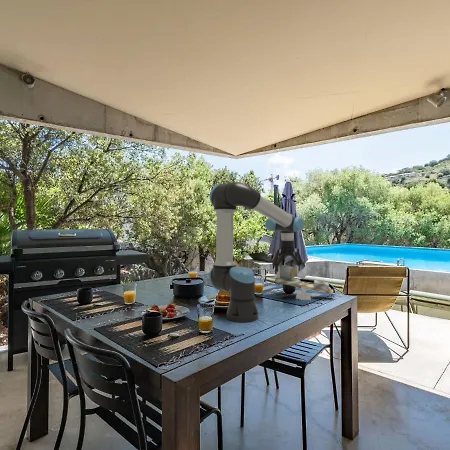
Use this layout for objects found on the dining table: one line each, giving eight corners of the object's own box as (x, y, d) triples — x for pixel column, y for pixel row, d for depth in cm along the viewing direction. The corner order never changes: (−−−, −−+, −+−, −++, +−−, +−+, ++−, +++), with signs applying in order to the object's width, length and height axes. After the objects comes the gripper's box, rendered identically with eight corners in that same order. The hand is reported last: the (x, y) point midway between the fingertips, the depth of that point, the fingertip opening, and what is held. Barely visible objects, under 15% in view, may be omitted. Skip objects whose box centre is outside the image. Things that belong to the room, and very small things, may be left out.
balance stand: (296, 299, 190) (295, 286, 190) (297, 294, 201) (297, 282, 201) (310, 300, 188) (310, 287, 187) (310, 295, 199) (310, 283, 199)
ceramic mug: (291, 280, 191) (291, 267, 190) (278, 278, 195) (278, 265, 195) (298, 277, 199) (298, 265, 199) (286, 276, 204) (286, 263, 204)
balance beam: (274, 283, 191) (275, 275, 191) (277, 279, 206) (278, 271, 205) (333, 296, 183) (334, 287, 182) (332, 290, 197) (333, 282, 197)
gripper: (303, 239, 202) (303, 274, 203) (266, 240, 197) (266, 276, 198) (308, 239, 195) (308, 276, 195) (270, 241, 190) (271, 279, 190)
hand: (287, 276), depth 197 cm, fingers closed on ceramic mug, 11 cm apart
